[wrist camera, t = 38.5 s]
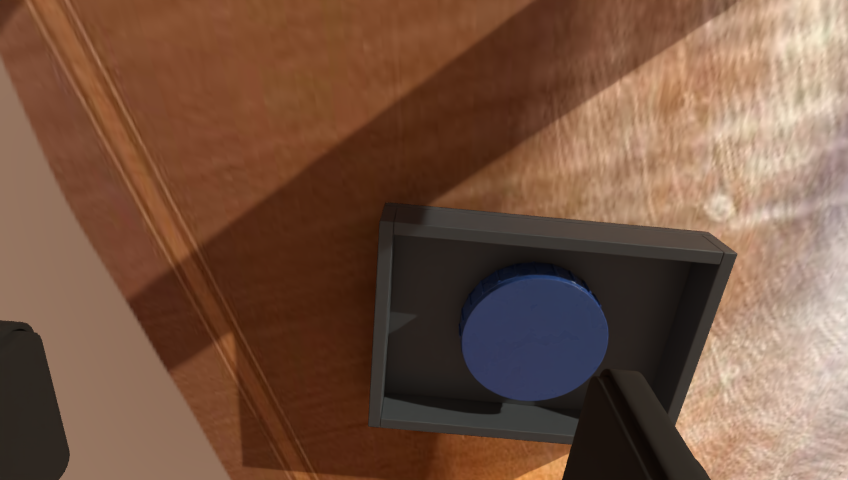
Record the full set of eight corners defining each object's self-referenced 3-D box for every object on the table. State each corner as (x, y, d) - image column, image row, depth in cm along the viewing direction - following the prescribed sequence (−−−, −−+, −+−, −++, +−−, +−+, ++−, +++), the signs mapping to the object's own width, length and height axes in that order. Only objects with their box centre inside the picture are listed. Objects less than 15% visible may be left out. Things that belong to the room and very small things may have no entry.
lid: (450, 372, 26) (450, 394, 25) (470, 252, 24) (472, 268, 22) (580, 387, 26) (589, 409, 25) (615, 270, 24) (627, 286, 22)
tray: (374, 393, 28) (367, 426, 25) (385, 202, 23) (379, 220, 21) (646, 418, 28) (665, 453, 25) (708, 231, 23) (738, 253, 21)
